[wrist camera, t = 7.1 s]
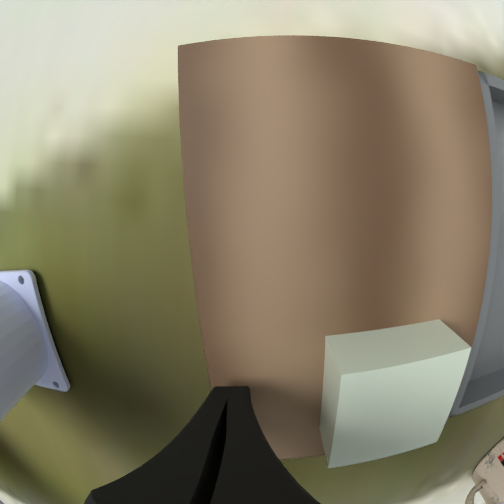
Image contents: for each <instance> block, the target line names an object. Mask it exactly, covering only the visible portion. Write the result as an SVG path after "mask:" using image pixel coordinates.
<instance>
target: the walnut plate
mask: <svg viewBox="0 0 504 504" xmlns="http://www.w3.org/2000/svg"><path fill="white" fill-rule="evenodd" d="M178 84H179V113H180V134H181V151H182V166H183V179H184V191H185V203H186V214H187V224H188V233H189V243H190V252H191V260H192V268H193V276H194V284H195V292H196V299H197V306H198V313H199V320H200V326H201V333H202V339H203V345H204V352H205V358H206V363H207V369H208V375H209V380H210V386H211V390H212V389H213V388H214V387H215V386H248V387H249V388H250V394H251V403H252V407H253V410H254V413H255V416H256V418H257V421H258V423H259V425H260V428H261V430H262V432H263V434H264V436H265V438H266V440H267V441H268V443H269V445H270V447H271V448H272V450H273V451H274V453H275V454H276V456H277V457H278V459H290V458H301V457H311V456H319V455H325V452H324V447H323V442H322V438H321V433H320V429H319V426H320V416H321V404H322V391H323V376H324V359H325V336H330V335H339V334H348V333H356V332H364V331H371V330H378V329H385V328H392V327H398V326H404V325H410V324H416V323H422V322H427V321H433V320H438V319H440V320H441V321H442V322H443V323H444V324H445V325H447V326H448V327H449V328H450V329H451V330H452V331H454V332H455V333H456V334H457V335H458V336H459V337H460V338H462V339H463V340H464V341H465V342H466V343H467V344H468V345H469V346H470V347H471V349H472V345H473V341H474V337H475V333H476V329H477V324H478V320H479V315H480V310H481V305H482V300H483V294H484V288H485V282H486V275H487V267H488V258H489V248H490V236H491V216H492V177H491V158H490V145H489V135H488V127H487V119H486V112H485V106H484V100H483V95H482V90H481V85H480V80H479V76H478V71H477V67H476V65H474V64H471V63H468V62H465V61H462V60H458V59H455V58H452V57H448V56H444V55H441V54H437V53H433V52H429V51H425V50H420V49H416V48H411V47H406V46H400V45H395V44H389V43H383V42H376V41H369V40H360V39H351V38H340V37H325V36H257V37H242V38H231V39H221V40H213V41H205V42H198V43H192V44H186V45H180V46H178ZM470 352H471V351H470ZM469 356H470V355H469ZM468 359H469V358H468ZM467 363H468V362H467ZM466 366H467V365H466ZM465 369H466V368H465ZM464 372H465V371H464ZM463 376H464V375H463ZM462 379H463V378H462ZM461 382H462V381H461ZM460 385H461V384H460ZM458 390H459V389H458ZM457 393H458V392H457ZM456 396H457V395H456ZM454 401H455V400H454ZM453 404H454V403H453ZM451 409H452V408H451ZM449 414H450V413H449ZM447 419H448V418H447ZM446 421H447V420H446ZM444 426H445V425H444Z"/></svg>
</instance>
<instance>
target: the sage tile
mask: <svg viewBox="0 0 504 504" xmlns="http://www.w3.org/2000/svg"><path fill="white" fill-rule="evenodd" d="M470 351H471V347H470V346H469V345H468V344H467V343H466V342H465V341H464V340H463V339H462V338H460V337H459V336H458V335H457V334H456V333H455V332H454V331H452V330H451V329H450V328H449V327H448V326H447V325H445V324H444V323H443V322H442V321H441V320H440V319H438V320H433V321H427V322H422V323H416V324H410V325H404V326H398V327H392V328H385V329H378V330H371V331H364V332H356V333H348V334H339V335H330V336H325V359H324V376H323V391H322V404H321V416H320V426H319V429H320V433H321V438H322V442H323V447H324V452H325V456H326V461H327V466H328V468H334V467H341V466H346V465H352V464H357V463H362V462H367V461H371V460H376V459H380V458H384V457H388V456H392V455H396V454H400V453H403V452H407V451H410V450H413V449H417V448H420V447H423V446H426V445H429V444H432V443H435V442H437V441H438V439H439V436H440V434H441V432H442V430H443V427H444V425H445V423H446V420H447V418H448V416H449V413H450V411H451V408H452V406H453V403H454V400H455V398H456V395H457V392H458V389H459V387H460V384H461V381H462V378H463V375H464V371H465V368H466V365H467V362H468V358H469V355H470Z"/></svg>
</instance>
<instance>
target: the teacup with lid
mask: <svg viewBox="0 0 504 504" xmlns="http://www.w3.org/2000/svg"><path fill="white" fill-rule="evenodd" d="M472 479H473V481H474V483H475V484H476V486H474V487H473V488H472V490H471V491H470V492H469V494H468V496H467V498H466V501H465V504H474V495H475V493H476V492H477V491H480V493H481V495H482V497H483V499H484V500H485V502H486V504H502V503H503V502H504V438H503V439H502V440H501V441H500V442H498V443H497V444H496V445H495V446H494V447H493V448H492V449H491V450H490V451H489V452H488V453H487V454H486V455H485V456H484V458H483V459H482V460H481V461H480V462H479V464H478V465H477V466H476V468H475V470H474V472H473V475H472Z"/></svg>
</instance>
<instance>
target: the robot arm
mask: <svg viewBox="0 0 504 504" xmlns="http://www.w3.org/2000/svg"><path fill="white" fill-rule="evenodd" d="M22 277H23V278H22ZM23 279H24V281H23ZM34 385H38V386H42V387H46V388H50V389H55V390H59V391H64V392H67V391H68V390H69V389H70V384H69V381H68V379H67V376H66V374H65V371H64V369H63V366H62V364H61V361H60V358H59V356H58V353H57V350H56V347H55V344H54V341H53V338H52V335H51V332H50V329H49V326H48V323H47V319H46V316H45V312H44V309H43V305H42V302H41V298H40V294H39V290H38V286H37V281H36V277H35V275H34V273H33V272H32V271H31V270H10V271H0V421H1V420H2V419H3V418H4V417H5V416H6V414H7V413H8V412H9V411H10V410H11V409H12V408H13V407H14V406H15V405H16V404H17V402H18V401H19V400H20V399H21V398H22V397H23V396H24V395H25V394H26V393H27V392H28V391H29V390H30V389H31V388H32V387H33V386H34ZM0 504H4V503H3V502H2V501H0ZM84 504H320V503H319V502H318V501H317V500H315V499H314V498H313V497H312V496H311V495H310V494H309V493H308V492H307V491H306V490H305V489H304V488H303V487H302V486H301V485H300V484H299V483H298V482H297V481H296V480H295V479H294V478H293V476H292V475H291V474H290V473H289V472H288V471H287V469H286V468H285V467H284V466H283V464H282V463H281V462H280V460H279V459H278V457H277V456H276V454H275V453H274V451H273V450H272V448H271V447H270V445H269V443H268V441H267V440H266V438H265V436H264V434H263V432H262V430H261V428H260V425H259V423H258V421H257V418H256V416H255V413H254V410H253V407H252V403H251V394H250V388H249V387H248V386H215V387H214V388H213V389H212V390H211V392H210V393H209V395H208V397H207V398H206V400H205V401H204V403H203V404H202V406H201V407H200V408H199V410H198V411H197V412H196V414H195V415H194V416H193V418H192V419H191V420H190V422H189V423H188V424H187V425H186V426H185V427H184V428H183V430H182V431H181V432H180V433H179V434H178V435H177V436H176V437H175V438H174V439H173V440H172V441H171V442H170V443H169V444H168V445H167V446H166V447H165V448H164V449H163V450H161V451H160V452H159V453H158V454H157V455H155V456H154V457H153V458H151V459H150V460H149V461H147V462H146V463H145V464H143V465H142V466H140V467H139V468H137V469H135V470H134V471H132V472H130V473H129V474H127V475H125V476H123V477H122V478H120V479H118V480H116V481H113V482H111V483H109V484H106V485H104V486H102V487H99V488H97V489H94V490H92V491H91V492H90V494H89V496H88V497H87V499H86V501H85V503H84ZM502 504H504V502H503V503H502Z"/></svg>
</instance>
